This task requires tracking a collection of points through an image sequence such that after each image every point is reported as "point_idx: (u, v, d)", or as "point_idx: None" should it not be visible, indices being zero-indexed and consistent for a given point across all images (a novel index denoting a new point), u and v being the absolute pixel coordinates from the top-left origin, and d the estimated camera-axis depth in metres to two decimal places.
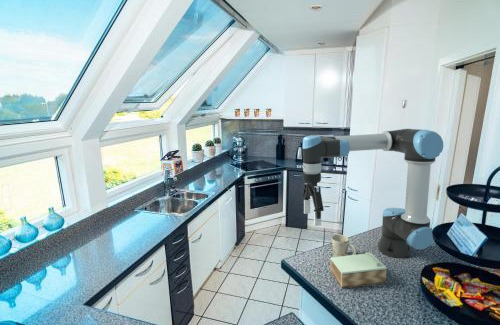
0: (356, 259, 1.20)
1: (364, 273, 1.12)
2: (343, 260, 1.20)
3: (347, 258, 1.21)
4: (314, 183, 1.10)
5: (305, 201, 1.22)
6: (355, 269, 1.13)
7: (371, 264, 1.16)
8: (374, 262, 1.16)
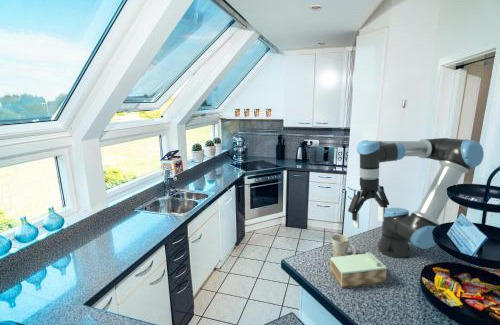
0: (356, 259, 1.20)
1: (364, 273, 1.12)
2: (343, 260, 1.20)
3: (347, 258, 1.21)
4: (361, 187, 1.12)
5: (379, 207, 1.18)
6: (355, 269, 1.13)
7: (371, 264, 1.16)
8: (374, 262, 1.16)
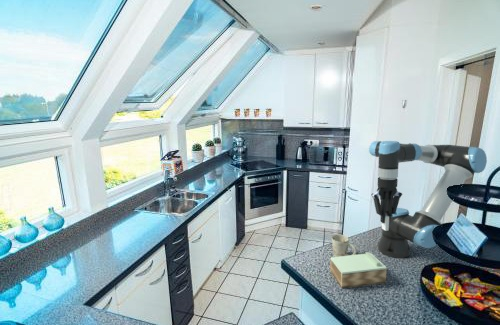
0: (356, 259, 1.20)
1: (364, 273, 1.12)
2: (343, 260, 1.20)
3: (347, 258, 1.21)
4: None
5: None
6: (355, 269, 1.13)
7: (371, 264, 1.16)
8: (374, 262, 1.16)
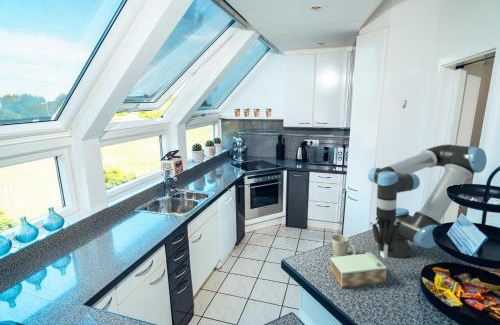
0: (356, 259, 1.20)
1: (364, 273, 1.12)
2: (343, 260, 1.20)
3: (347, 258, 1.21)
4: None
5: None
6: (355, 269, 1.13)
7: (371, 264, 1.16)
8: (374, 262, 1.16)
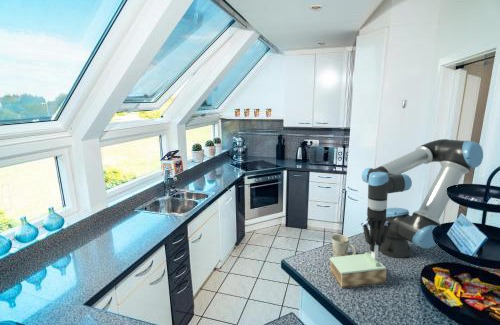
0: (355, 259, 1.20)
1: (364, 273, 1.12)
2: (342, 260, 1.20)
3: (346, 259, 1.21)
4: None
5: None
6: (354, 269, 1.13)
7: (370, 264, 1.16)
8: (373, 262, 1.16)
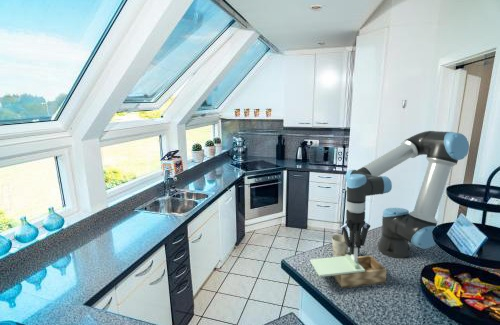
0: (336, 261, 1.19)
1: (364, 273, 1.12)
2: (322, 262, 1.19)
3: (326, 261, 1.20)
4: None
5: None
6: (333, 271, 1.12)
7: (350, 266, 1.15)
8: (353, 264, 1.15)
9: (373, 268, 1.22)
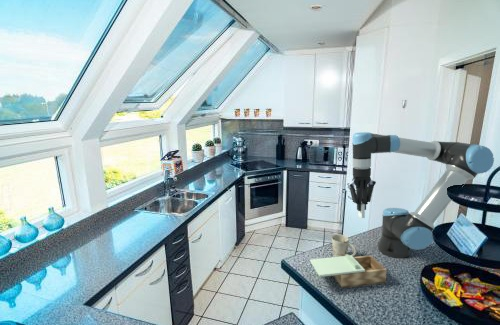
0: (336, 261, 1.19)
1: (364, 273, 1.12)
2: (322, 262, 1.19)
3: (326, 261, 1.20)
4: None
5: None
6: (333, 271, 1.12)
7: (350, 266, 1.15)
8: (353, 264, 1.15)
9: (373, 268, 1.22)
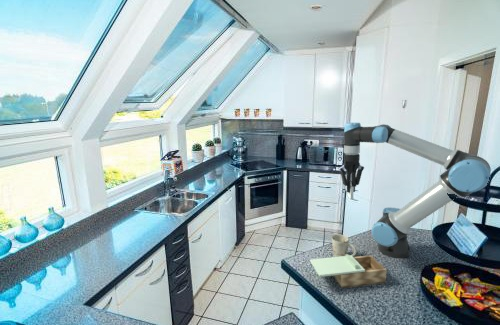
0: (336, 261, 1.19)
1: (364, 273, 1.12)
2: (322, 262, 1.19)
3: (326, 261, 1.20)
4: None
5: None
6: (333, 271, 1.12)
7: (350, 266, 1.15)
8: (353, 264, 1.15)
9: (373, 268, 1.22)
